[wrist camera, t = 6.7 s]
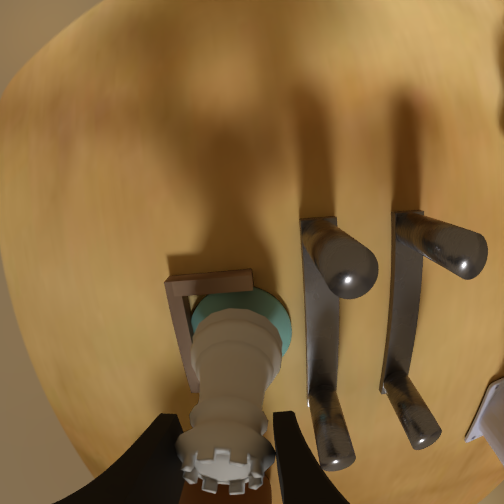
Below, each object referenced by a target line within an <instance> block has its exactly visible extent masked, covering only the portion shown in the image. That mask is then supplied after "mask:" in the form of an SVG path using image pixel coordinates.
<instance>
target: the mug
mask: <svg viewBox="0 0 504 504" xmlns="http://www.w3.org/2000/svg"><path fill="white" fill-rule="evenodd" d="M202 483H203V479H201V478H199V477H198V480H197V483H195V484H189V483H188V482H187V481H186V480H185V482H184V486H183V490H182V494H181V497H180V501H179V504H272V495H271V485H270V482H269V479H268V478H267V477H266V476H265V475H264V477H263V485H261V486H260V487H259V488H258V489H256V490H254V489H251V488H248V487H249V482H247V483H245V493H244V494H237V495H230V493H229V485H228V484H218V486H217V492H216V494H214V493H211V492H207V491H203V490H202Z"/></svg>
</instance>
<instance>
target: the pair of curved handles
mask: <svg viewBox="0 0 504 504" xmlns="http://www.w3.org/2000/svg"><path fill="white" fill-rule="evenodd" d="M391 216H392V262H391V288H390V304H389V317H388V328H387V337H386V346H385V354H384V361H383V369H382V375H381V382H380V388H379V391H380V393H381V394H385V393H386V394H387V396H388V398H389V400H390V402H391V404H392V406H393V408H394V410H395V412H396V414H397V416H398V418H399V420H400V422H401V424H402V426H403V428H404V431H405V433H406V435H407V437H408V439H409V441H410V443H411V445H412V447H413V449H415V450H420V449H424V448H426V447H428V446H430V445H431V444H433V443H434V442H435V441H436V440H437V439H438V438H439V437H440V435H441V433H442V430H441V428H440V426H439V425H438V423H437V421H436V420H435V418H434V416H433V415H432V413H431V412H430V410H429V408H428V407H427V405H426V403H425V402H424V400H423V399H422V397H421V395H420V394H419V392H418V391H417V389H416V388H415V386H414V384H413V383H412V381H411V380H410V378H409V377H408V373H409V368H410V363H411V357H412V352H413V346H414V340H415V334H416V327H417V319H418V311H419V303H420V293H421V281H422V267H423V256H425V257H427V258H428V259H430V260H432V261H434V262H435V263H437V264H439V265H441V266H442V267H444V268H446V269H448V270H449V271H451V272H453V273H454V274H456V275H458V276H459V277H461V278H463V279H466V280H470V279H473V278H475V277H476V276H477V275H478V274H479V273H480V272H481V271H482V269H483V268H484V266H485V263H486V260H487V255H488V247H487V243H486V240H485V238H484V237H483V236H482V235H481V234H479V233H476V232H473V231H470V230H468V229H465V228H462V227H459V226H456V225H452V224H449V223H446V222H443V221H440V220H437V219H434V218H430V217H427V216H424V211H421V210H413V211H397V212H391ZM299 223H300V236H301V250H302V266H303V283H304V303H305V327H306V361H307V405H308V407H310V412H311V417H312V422H313V428H314V433H315V439H316V444H317V450H318V456H319V462H320V467H321V468H322V469H323V470H325V471H338V470H342V469H344V468H347V467H348V466H350V465H351V464H352V463H353V462H354V461H355V459H356V456H355V453H354V449H353V446H352V442H351V439H350V436H349V432H348V429H347V426H346V422H345V419H344V416H343V412H342V409H341V406H340V403H339V399H338V396H337V393H336V387H337V369H338V345H339V297H340V298H343V299H355V298H358V297H361V296H363V295H364V294H366V293H367V292H368V291H369V290H370V289H371V288H372V287H373V285H374V284H375V282H376V280H377V277H378V262H377V259H376V257H375V255H374V254H373V253H372V252H371V251H370V250H369V249H368V248H366V247H365V246H364V245H362V244H361V243H359V242H358V241H357V240H355V239H354V238H352V237H351V236H350V235H348V234H347V233H345V232H344V231H342V230H341V229H340V228H338V227H337V217H335V216H330V217H318V218H307V219H299Z"/></svg>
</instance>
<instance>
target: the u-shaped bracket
mask: <svg viewBox="0 0 504 504" xmlns="http://www.w3.org/2000/svg"><path fill="white" fill-rule="evenodd" d="M164 284H165V289H166V294H167V299H168V303H169V308H170V312H171V317H172V321H173V325H174V330H175V334H176V338H177V342H178V346H179V350H180V354H181V358H182V361H183V365H184V369H185V372H186V376H187V380H188V383H189V387H190V390H191V393H200V381H199V380H198V378H197V376H196V372H195V371H194V369H193V367H192V363H191V348H190V347H191V345H192V343H193V335H194V333H195V331H196V329H197V326H198V324H199V323H200V322H201V321H203V320H204V319H205V318H206V317H208V316H209V315H210V314H211V313H214V312H218V311H221V310H225V309H228V308H234V309H248V310H251V311H253V312H255V313H258V314H260V315H262V316H265V317H266V318H267V319H268V320H269V321H270V322H271V323H272V324H273V325H274V326H275V327H276V328H277V329H278V332H279V334H280V337H281V340H282V342H283V345H282V357H283V356H284V354H285V353H286V351H287V349H288V347H289V344H290V341H291V336H292V329H291V322H290V319H289V316H288V313H287V311H286V310H285V308H284V306H283V305H282V304H281V303H280V302H279V300H277V299H276V298H275V297H274V296H273V295H271V294H270V293H268V292H266V291H264V290H262V289H259V288H256V287H253V276H252V269H243V270H232V271H221V272H210V273H199V274H187V275H175V276H169V277H168V278H167V280H166V281H165V282H164ZM204 294H208V295H207V296H206V297H204V298H203V299H202V300H201V302H200V303H199V304H198V306H197V307H196V309H195V311H194V313H193V315H192V316H191V311H190V306H189V301H188V296H190V295H204Z"/></svg>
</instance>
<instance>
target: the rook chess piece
mask: <svg viewBox="0 0 504 504" xmlns="http://www.w3.org/2000/svg"><path fill="white" fill-rule="evenodd" d="M282 345H283V342H282V340H281V337H280V334H279V332H278V329H277V328H276V327H275V326H274V325H273V324H272V323H271V322H270V321H269V320H268V319H267V318H266V317H265V316H262V315H260V314H258V313H255V312H253V311H251V310H248V309H234V308H228V309H225V310H221V311H218V312H214V313H211V314H210V315H209V316H208V317H206V318H205V319H204V320H203V321H201V322H200V323H199V324H198V326H197V329H196V331H195V333H194V335H193V343H192V345H191V347H190V348H191V363H192V367H193V369H194V371H195V372H196V376H197V378H198V380H199V381H200V394H199V401H198V404H197V405H195V406H194V408H193V409H192V411H191V413H190V415H189V417H190V424H191V426H192V427H193V428H192V429H190V430H188V431H186V432H184V433H182V434H181V435H180V436H179V437H178V439H177V441H176V443H175V449H176V453H177V456H178V457H179V459H180V460H181V461H182V467H181V470H183V471H184V473H183V478H184V479H185V480H186V481H187V482H188V483H189V484H195V483H197V480H198V477H199V478H201V479H203V483H202V490H203V491H207V492H211V493H214V494H216V492H217V486H218V484H228V485H229V493H230V495H237V494H244V493H245V483H247V482H249V487H248V488H251V489H254V490H256V489H258V488H259V487H260V486H261V485H263V477H264V472H265V471H266V470H267V469H268V468H269V467H270V466H271V465H272V464H273V463H274V461H275V456H276V452H275V450H274V448H273V446H272V445H271V443H270V442H269V441H268V440H267V439H266V438H264V437H263V436H262V435H263V434H264V433H265V432H266V431H267V426H268V420H267V418H266V416H265V414H264V412H263V411H262V405H263V399H264V394H265V391H266V389H267V388H268V386H269V385H270V384H271V383H272V381H273V380H274V378H275V377H276V375H277V374H278V373H279V370H280V368H281V361H282Z"/></svg>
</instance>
